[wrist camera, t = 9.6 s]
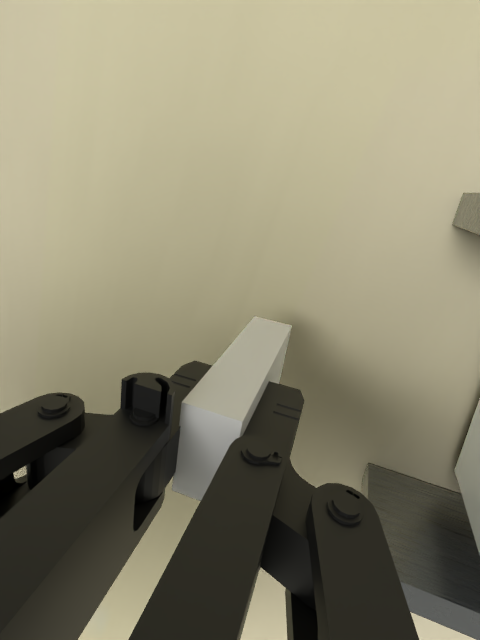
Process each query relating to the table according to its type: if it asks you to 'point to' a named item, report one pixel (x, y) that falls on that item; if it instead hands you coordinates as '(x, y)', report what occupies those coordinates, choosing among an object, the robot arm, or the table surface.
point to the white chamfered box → (471, 474)
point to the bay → (432, 526)
